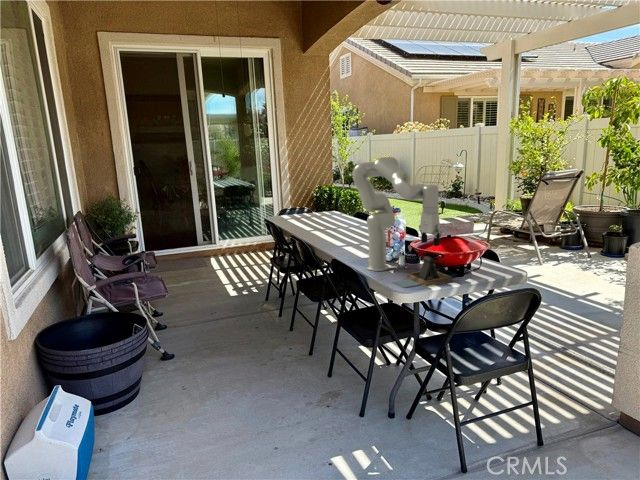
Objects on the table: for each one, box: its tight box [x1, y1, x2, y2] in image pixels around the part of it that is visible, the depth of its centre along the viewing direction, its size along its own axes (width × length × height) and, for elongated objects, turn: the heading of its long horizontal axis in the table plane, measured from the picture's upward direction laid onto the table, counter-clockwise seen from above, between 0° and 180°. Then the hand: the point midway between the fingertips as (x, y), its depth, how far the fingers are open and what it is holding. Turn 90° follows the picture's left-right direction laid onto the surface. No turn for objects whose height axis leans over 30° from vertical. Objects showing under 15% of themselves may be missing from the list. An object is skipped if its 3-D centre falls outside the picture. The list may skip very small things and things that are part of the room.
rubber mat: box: [392, 278, 422, 289], centre depth 221 cm, size 10×10×1 cm
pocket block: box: [406, 270, 453, 287], centre depth 226 cm, size 16×16×2 cm
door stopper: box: [418, 255, 439, 281], centre depth 225 cm, size 9×6×12 cm, turn 105°
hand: (430, 244), depth 222 cm, fingers open, 9 cm apart
